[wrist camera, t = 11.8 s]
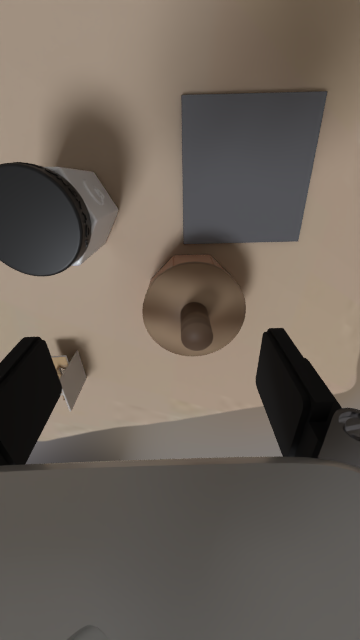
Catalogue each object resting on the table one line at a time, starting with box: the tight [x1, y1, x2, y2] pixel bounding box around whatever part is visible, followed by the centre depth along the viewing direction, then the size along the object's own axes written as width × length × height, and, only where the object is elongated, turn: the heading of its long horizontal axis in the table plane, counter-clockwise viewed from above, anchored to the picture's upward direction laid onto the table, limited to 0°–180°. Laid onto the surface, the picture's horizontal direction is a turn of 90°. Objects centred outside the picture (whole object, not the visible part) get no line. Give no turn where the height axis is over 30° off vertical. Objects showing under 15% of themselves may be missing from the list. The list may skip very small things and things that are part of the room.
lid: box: [143, 261, 246, 356], centre depth 28 cm, size 12×12×6 cm
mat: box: [182, 91, 327, 244], centre depth 28 cm, size 14×14×1 cm
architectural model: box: [51, 350, 87, 411], centre depth 37 cm, size 3×7×7 cm, turn 4°
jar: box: [0, 162, 118, 276], centre depth 24 cm, size 9×8×12 cm
